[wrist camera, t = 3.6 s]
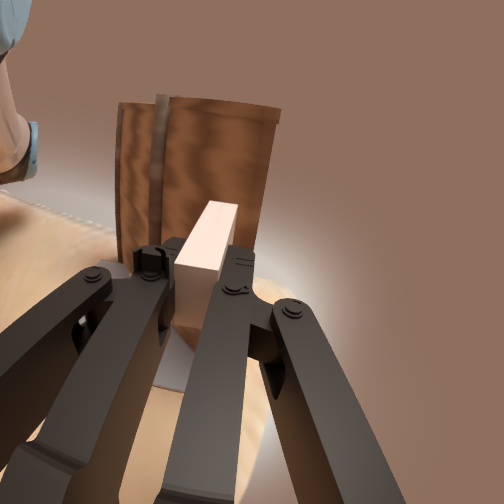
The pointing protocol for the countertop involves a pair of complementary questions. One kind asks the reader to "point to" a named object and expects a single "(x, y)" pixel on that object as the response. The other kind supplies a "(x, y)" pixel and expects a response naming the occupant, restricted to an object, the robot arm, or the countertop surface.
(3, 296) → the countertop surface
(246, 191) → the brown wooden board
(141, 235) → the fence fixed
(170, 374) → the card
